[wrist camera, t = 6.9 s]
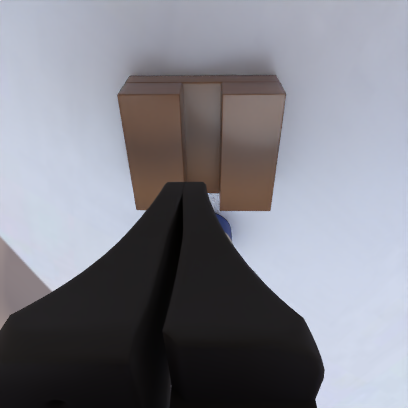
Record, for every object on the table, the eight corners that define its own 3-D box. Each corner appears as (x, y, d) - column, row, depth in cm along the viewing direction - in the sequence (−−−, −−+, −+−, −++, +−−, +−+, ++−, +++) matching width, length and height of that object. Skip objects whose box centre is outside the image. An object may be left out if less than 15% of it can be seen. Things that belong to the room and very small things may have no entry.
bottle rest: (264, 183, 22) (270, 211, 20) (144, 183, 23) (136, 210, 20) (276, 74, 18) (286, 93, 16) (129, 75, 18) (116, 94, 16)
